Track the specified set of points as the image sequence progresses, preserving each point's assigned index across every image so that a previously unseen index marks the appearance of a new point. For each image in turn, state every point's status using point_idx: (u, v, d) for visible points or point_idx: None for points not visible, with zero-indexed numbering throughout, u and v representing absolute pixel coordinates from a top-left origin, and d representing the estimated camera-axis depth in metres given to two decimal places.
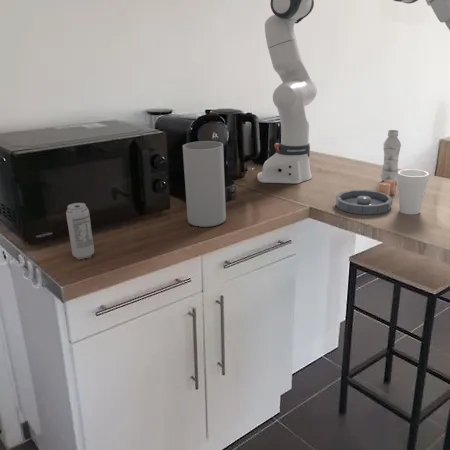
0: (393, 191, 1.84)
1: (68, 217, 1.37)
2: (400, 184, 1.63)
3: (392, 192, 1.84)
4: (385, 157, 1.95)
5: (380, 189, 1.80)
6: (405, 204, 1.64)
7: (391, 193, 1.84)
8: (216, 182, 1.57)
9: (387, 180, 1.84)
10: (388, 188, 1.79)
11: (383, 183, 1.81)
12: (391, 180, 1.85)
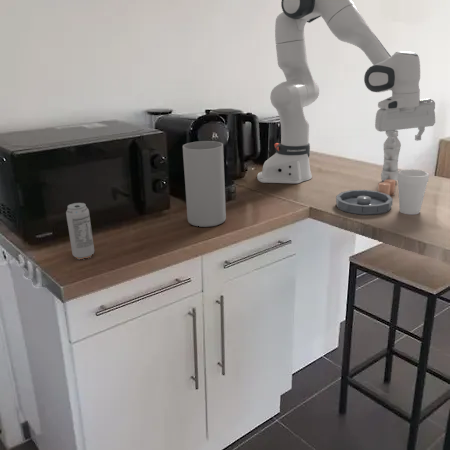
0: (393, 191, 1.84)
1: (68, 217, 1.37)
2: (400, 184, 1.63)
3: (392, 192, 1.84)
4: (385, 157, 1.95)
5: (380, 189, 1.80)
6: (405, 204, 1.64)
7: (391, 193, 1.84)
8: (216, 182, 1.57)
9: (387, 180, 1.84)
10: (388, 188, 1.79)
11: (383, 183, 1.81)
12: (391, 180, 1.85)
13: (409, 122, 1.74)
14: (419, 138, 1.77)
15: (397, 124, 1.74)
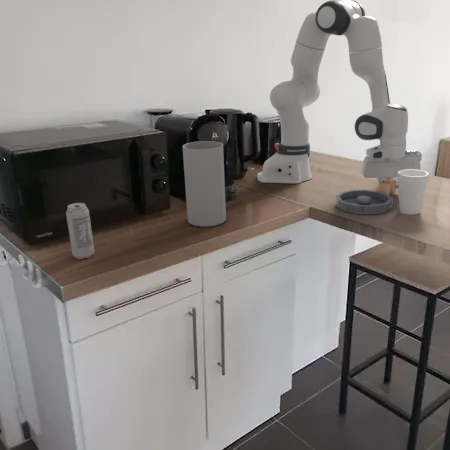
0: (393, 191, 1.84)
1: (68, 217, 1.37)
2: (400, 184, 1.63)
3: (392, 192, 1.84)
4: None
5: (380, 189, 1.80)
6: (405, 204, 1.64)
7: (391, 193, 1.84)
8: (216, 182, 1.57)
9: (387, 180, 1.84)
10: (388, 188, 1.79)
11: (383, 183, 1.81)
12: (391, 180, 1.85)
13: (394, 171, 1.81)
14: None
15: (382, 172, 1.81)
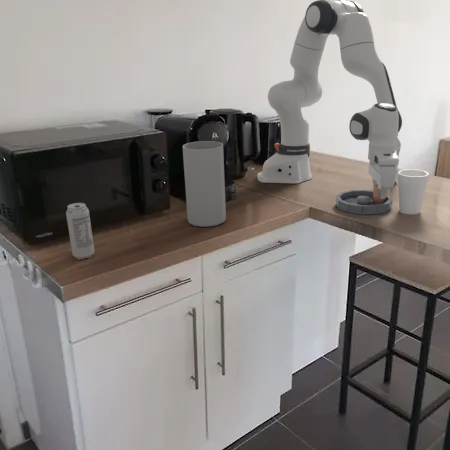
0: None
1: (68, 217, 1.37)
2: (400, 184, 1.63)
3: None
4: None
5: None
6: (405, 204, 1.64)
7: None
8: (216, 182, 1.57)
9: (379, 189, 1.71)
10: None
11: None
12: (377, 188, 1.73)
13: None
14: None
15: None
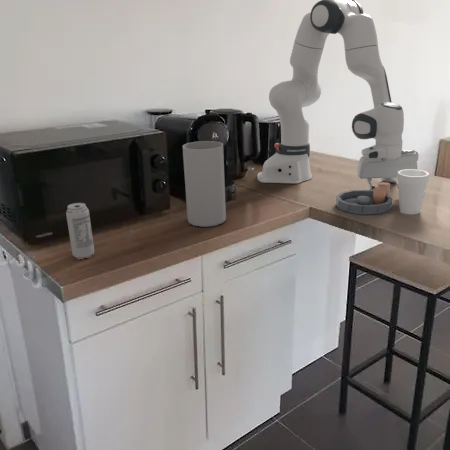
0: None
1: (68, 217, 1.37)
2: (400, 184, 1.63)
3: None
4: None
5: None
6: (405, 204, 1.64)
7: None
8: (216, 182, 1.57)
9: (379, 189, 1.71)
10: (387, 188, 1.79)
11: (383, 183, 1.81)
12: (377, 188, 1.73)
13: (390, 171, 1.77)
14: None
15: (378, 172, 1.77)
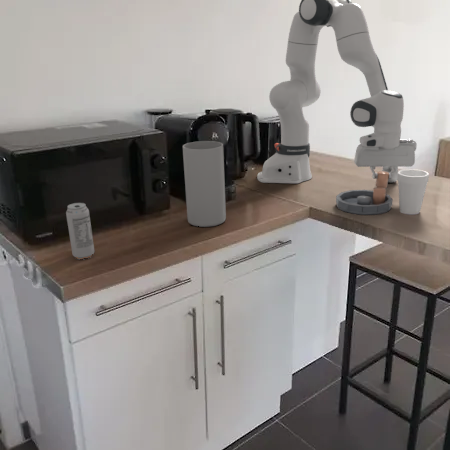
0: None
1: (68, 217, 1.37)
2: (400, 184, 1.63)
3: None
4: None
5: (378, 178, 1.80)
6: (405, 204, 1.64)
7: None
8: (216, 182, 1.57)
9: (379, 189, 1.71)
10: (386, 177, 1.79)
11: (382, 172, 1.80)
12: (377, 188, 1.73)
13: (387, 160, 1.76)
14: (391, 176, 1.79)
15: (375, 161, 1.76)
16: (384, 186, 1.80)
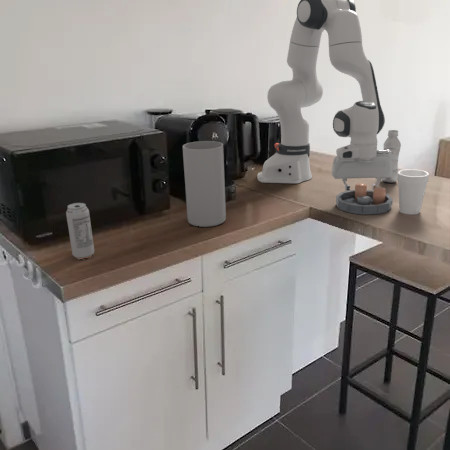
0: None
1: (68, 217, 1.37)
2: (400, 184, 1.63)
3: None
4: None
5: (356, 190, 1.77)
6: (405, 204, 1.64)
7: None
8: (216, 182, 1.57)
9: (379, 189, 1.71)
10: (364, 189, 1.76)
11: (360, 184, 1.78)
12: (377, 188, 1.73)
13: (365, 172, 1.73)
14: None
15: (352, 173, 1.74)
16: None
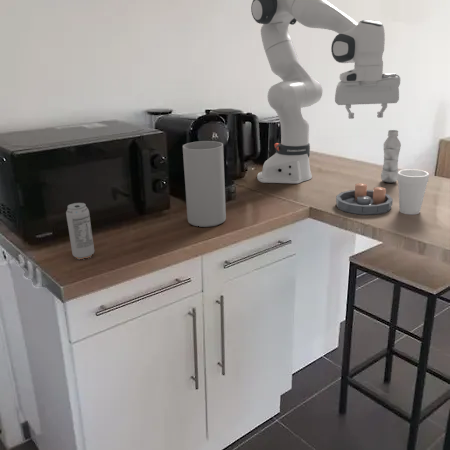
0: None
1: (68, 217, 1.37)
2: (400, 184, 1.63)
3: None
4: (385, 157, 1.95)
5: (356, 190, 1.77)
6: (405, 204, 1.64)
7: None
8: (216, 182, 1.57)
9: (379, 189, 1.71)
10: (364, 189, 1.76)
11: (360, 184, 1.78)
12: (377, 188, 1.73)
13: (370, 97, 1.64)
14: (381, 115, 1.67)
15: (357, 98, 1.65)
16: None
